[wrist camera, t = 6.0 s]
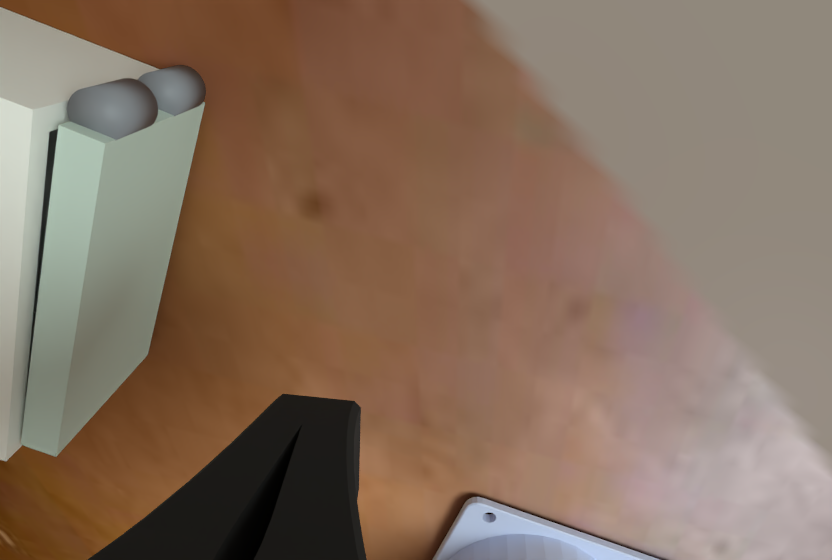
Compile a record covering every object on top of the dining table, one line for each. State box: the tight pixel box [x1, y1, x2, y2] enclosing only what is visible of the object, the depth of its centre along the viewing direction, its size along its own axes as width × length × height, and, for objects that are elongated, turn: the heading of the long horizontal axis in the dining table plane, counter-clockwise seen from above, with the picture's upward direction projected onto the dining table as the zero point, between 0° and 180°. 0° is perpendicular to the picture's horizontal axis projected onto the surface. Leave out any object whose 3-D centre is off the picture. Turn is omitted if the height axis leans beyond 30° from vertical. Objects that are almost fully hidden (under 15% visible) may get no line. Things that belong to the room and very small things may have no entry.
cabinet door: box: [21, 65, 206, 457], centre depth 17 cm, size 1×10×5 cm, turn 159°
